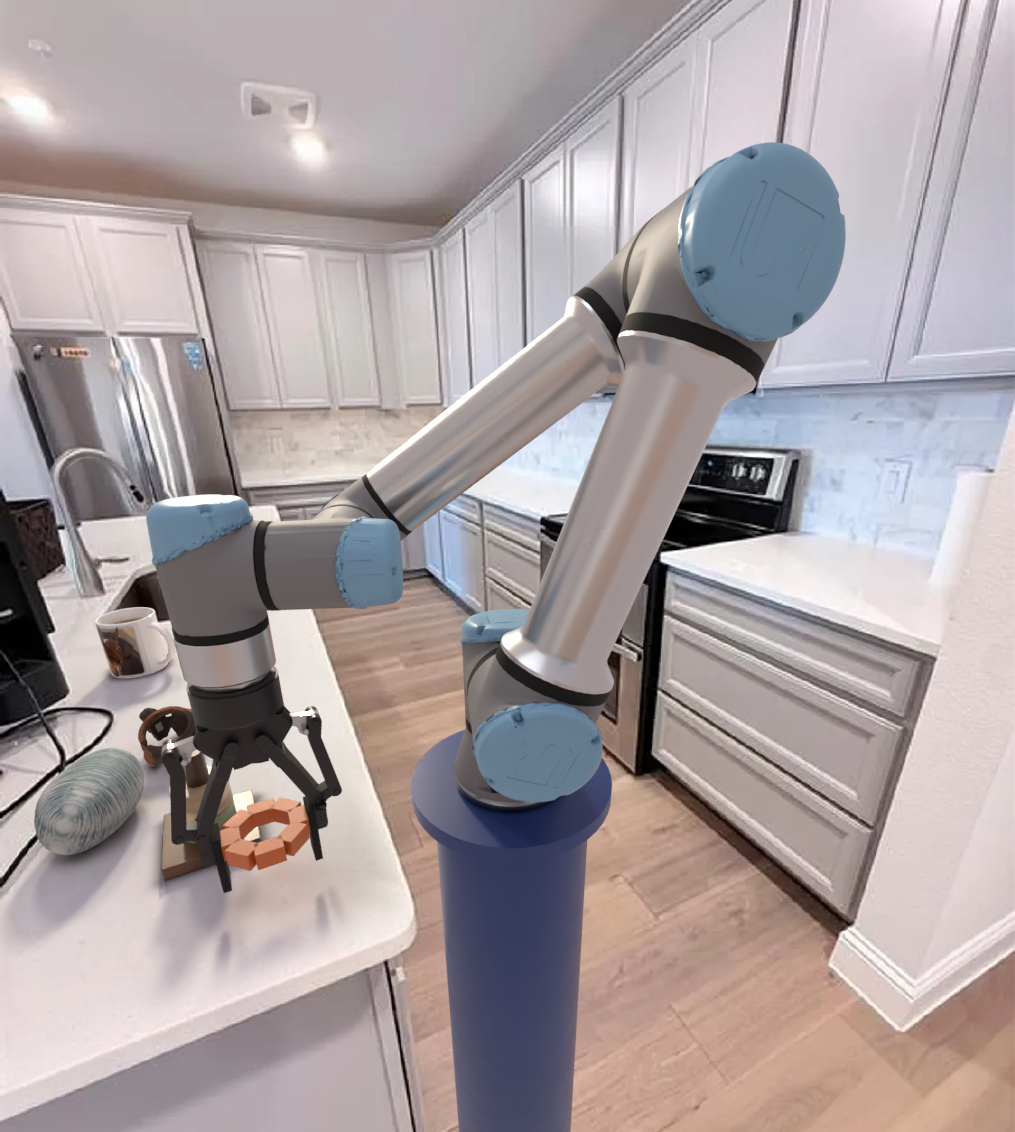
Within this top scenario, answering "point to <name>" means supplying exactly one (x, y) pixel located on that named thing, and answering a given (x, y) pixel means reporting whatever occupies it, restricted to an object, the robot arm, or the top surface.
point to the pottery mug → (163, 728)
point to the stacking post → (187, 854)
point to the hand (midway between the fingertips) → (273, 866)
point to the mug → (134, 642)
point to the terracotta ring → (268, 850)
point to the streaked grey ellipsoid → (88, 801)
